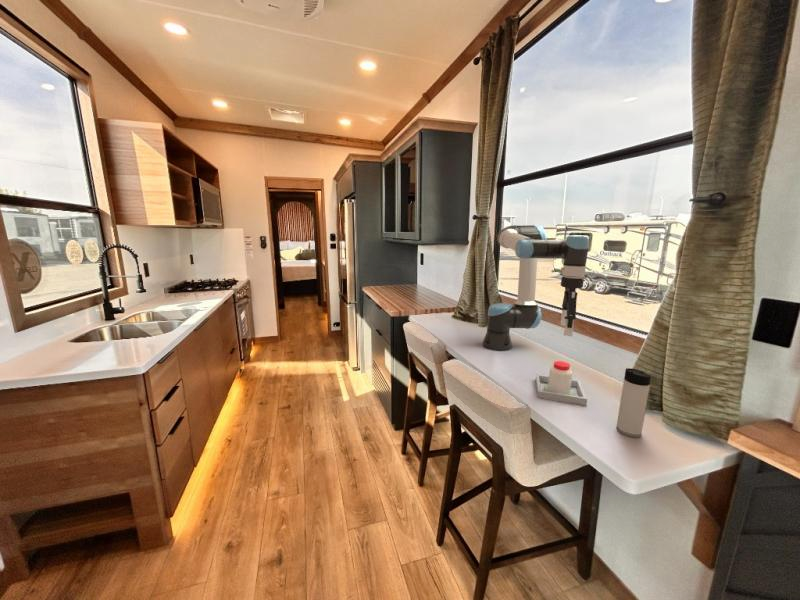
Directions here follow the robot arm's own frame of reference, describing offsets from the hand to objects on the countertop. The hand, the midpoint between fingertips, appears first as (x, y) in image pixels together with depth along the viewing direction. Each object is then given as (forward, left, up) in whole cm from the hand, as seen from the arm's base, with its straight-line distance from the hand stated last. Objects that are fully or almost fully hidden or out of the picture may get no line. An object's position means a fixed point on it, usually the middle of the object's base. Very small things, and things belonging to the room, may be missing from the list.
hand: (565, 330), depth 125 cm
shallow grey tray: (+8, -1, -23) cm, 24 cm away
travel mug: (+29, +16, -23) cm, 40 cm away
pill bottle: (+8, -1, -22) cm, 24 cm away
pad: (+8, -1, -23) cm, 24 cm away
